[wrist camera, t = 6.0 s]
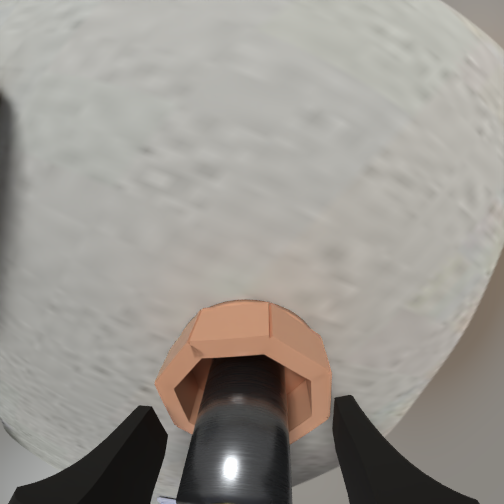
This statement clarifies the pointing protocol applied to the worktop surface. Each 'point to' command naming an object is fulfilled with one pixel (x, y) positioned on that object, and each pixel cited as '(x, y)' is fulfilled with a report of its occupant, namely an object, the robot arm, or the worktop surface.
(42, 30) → the worktop surface
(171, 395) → the cup
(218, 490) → the cell
